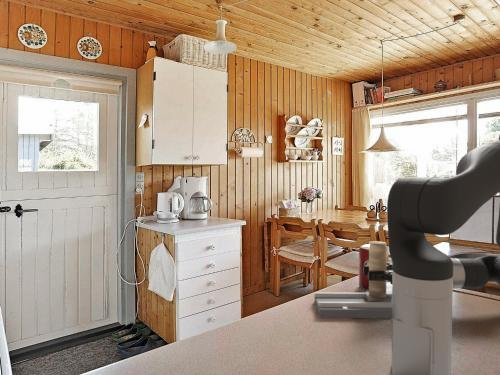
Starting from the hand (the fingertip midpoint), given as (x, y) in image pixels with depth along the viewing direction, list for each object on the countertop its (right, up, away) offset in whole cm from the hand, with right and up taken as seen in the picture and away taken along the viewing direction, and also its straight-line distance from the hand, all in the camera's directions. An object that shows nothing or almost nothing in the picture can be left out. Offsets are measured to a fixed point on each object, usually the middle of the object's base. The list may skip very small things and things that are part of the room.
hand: (366, 272), depth 88 cm
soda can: (+7, -8, +16) cm, 20 cm away
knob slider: (+3, -7, 0) cm, 7 cm away
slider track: (0, -9, +1) cm, 9 cm away
